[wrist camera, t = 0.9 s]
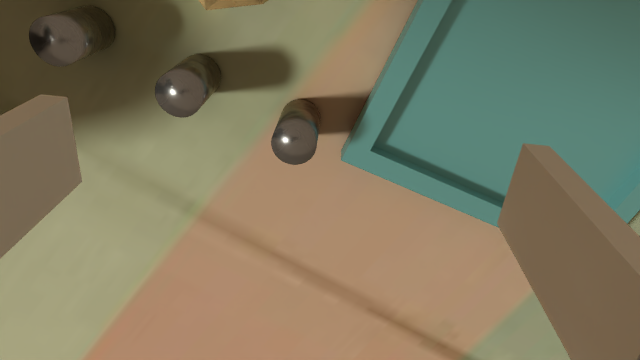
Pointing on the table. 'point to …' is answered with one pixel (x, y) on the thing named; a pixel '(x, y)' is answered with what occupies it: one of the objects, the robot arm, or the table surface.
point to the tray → (506, 100)
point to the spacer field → (169, 77)
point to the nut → (228, 3)
